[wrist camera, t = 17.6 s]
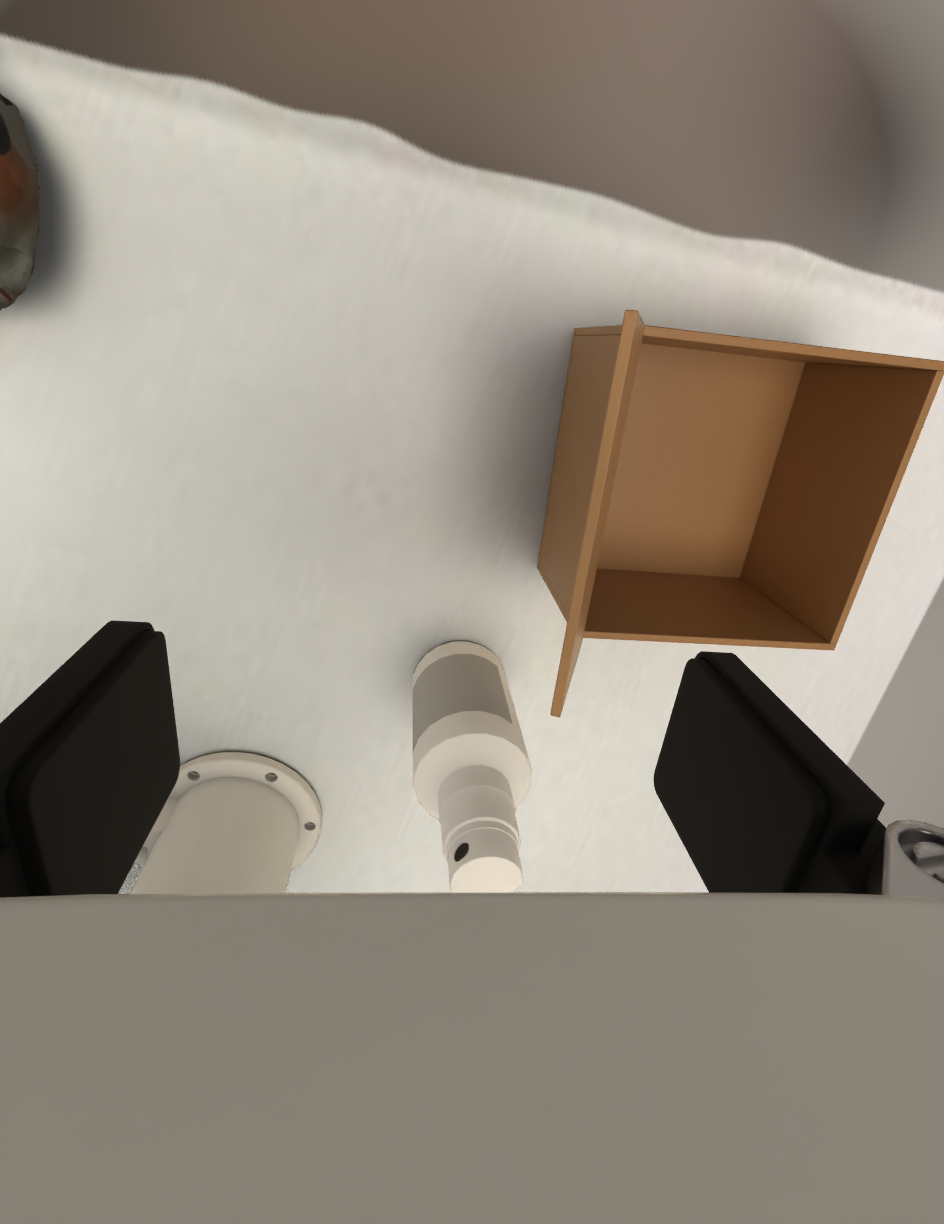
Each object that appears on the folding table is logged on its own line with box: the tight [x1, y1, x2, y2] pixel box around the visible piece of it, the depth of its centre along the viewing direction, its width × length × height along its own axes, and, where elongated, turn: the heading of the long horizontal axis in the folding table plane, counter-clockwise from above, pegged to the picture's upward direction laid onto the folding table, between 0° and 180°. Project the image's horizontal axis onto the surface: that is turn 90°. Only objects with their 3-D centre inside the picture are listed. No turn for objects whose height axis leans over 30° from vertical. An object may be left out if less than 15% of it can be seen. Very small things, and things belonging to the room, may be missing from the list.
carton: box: [537, 325, 944, 650], centre depth 34 cm, size 15×15×10 cm
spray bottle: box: [413, 641, 532, 893], centre depth 35 cm, size 7×7×18 cm
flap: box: [551, 310, 645, 717], centre depth 24 cm, size 7×15×1 cm
